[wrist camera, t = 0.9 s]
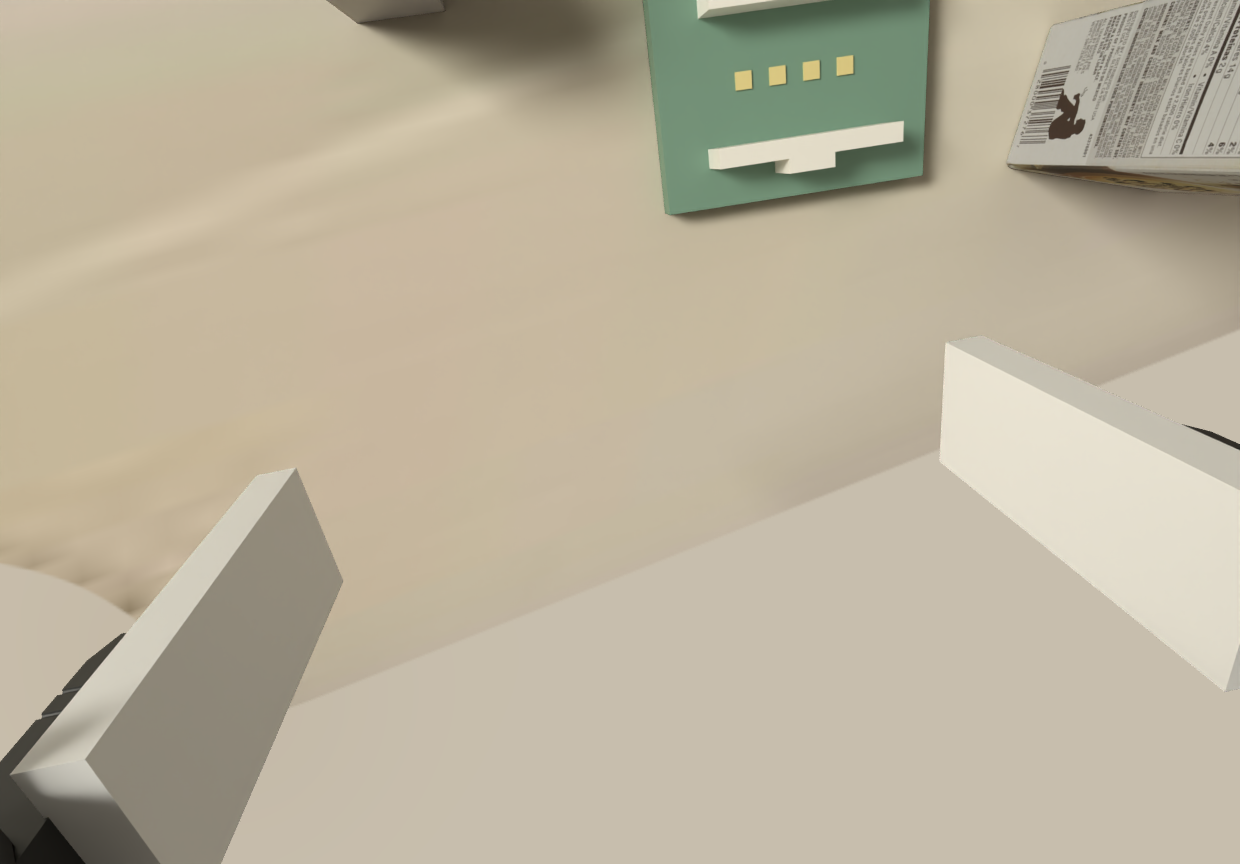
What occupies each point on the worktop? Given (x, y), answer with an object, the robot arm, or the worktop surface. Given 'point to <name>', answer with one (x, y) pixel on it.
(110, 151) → the worktop surface
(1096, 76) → the coffee box
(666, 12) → the board
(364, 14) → the plug
